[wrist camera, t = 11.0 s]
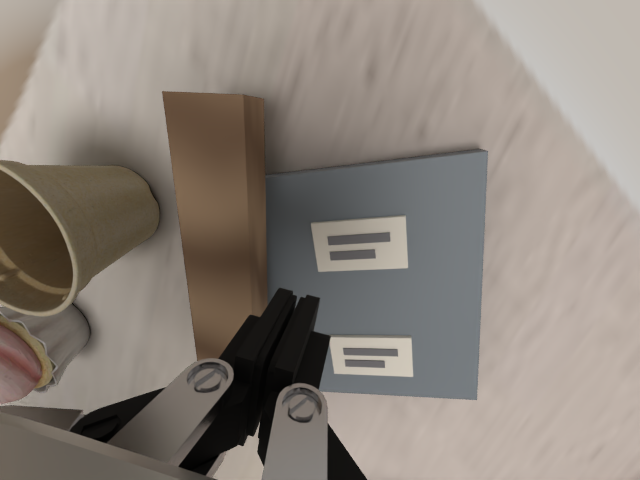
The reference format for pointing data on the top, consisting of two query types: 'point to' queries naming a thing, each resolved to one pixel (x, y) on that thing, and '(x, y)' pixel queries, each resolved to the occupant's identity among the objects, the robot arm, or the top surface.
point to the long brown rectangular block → (220, 209)
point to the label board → (387, 269)
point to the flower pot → (66, 229)
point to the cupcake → (37, 349)
